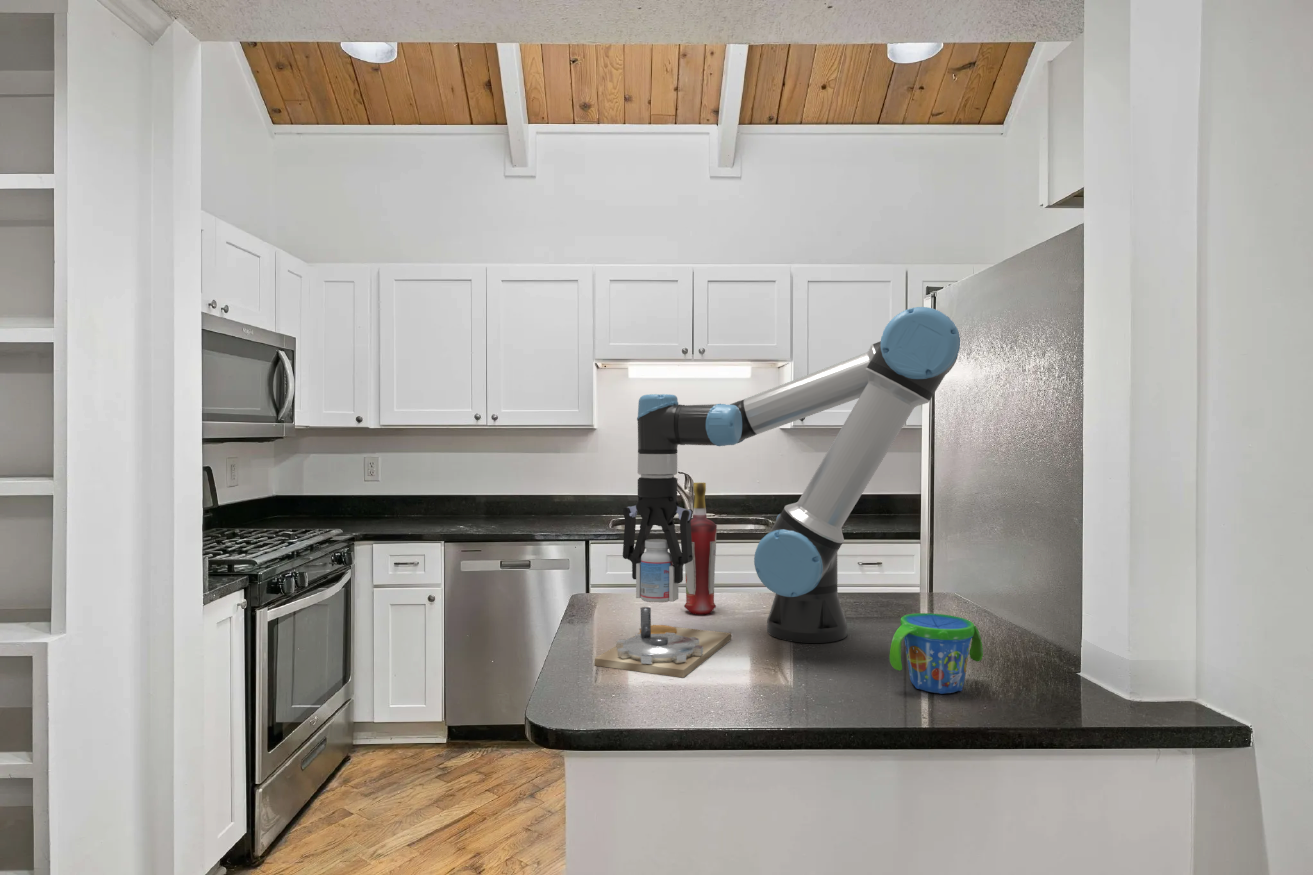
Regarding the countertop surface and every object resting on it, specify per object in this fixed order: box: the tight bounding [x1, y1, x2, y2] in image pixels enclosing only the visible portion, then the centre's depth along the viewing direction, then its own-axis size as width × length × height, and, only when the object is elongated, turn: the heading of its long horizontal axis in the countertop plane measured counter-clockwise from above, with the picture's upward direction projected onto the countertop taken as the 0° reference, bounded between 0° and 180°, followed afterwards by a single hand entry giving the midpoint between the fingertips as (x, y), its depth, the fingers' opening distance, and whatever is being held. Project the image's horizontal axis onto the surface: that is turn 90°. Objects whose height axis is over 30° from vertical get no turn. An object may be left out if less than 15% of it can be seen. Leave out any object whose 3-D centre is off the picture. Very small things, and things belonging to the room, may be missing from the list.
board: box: [594, 626, 732, 678], centre depth 133 cm, size 16×24×1 cm, turn 156°
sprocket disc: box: [615, 606, 703, 664], centre depth 129 cm, size 15×15×6 cm
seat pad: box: [639, 624, 677, 634], centre depth 142 cm, size 7×7×1 cm
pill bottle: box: [640, 538, 673, 604], centre depth 142 cm, size 6×6×11 cm
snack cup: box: [888, 612, 984, 695], centre depth 114 cm, size 16×10×10 cm
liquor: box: [684, 481, 718, 616], centre depth 163 cm, size 7×7×28 cm
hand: (657, 598), depth 142 cm, fingers closed on pill bottle, 6 cm apart
